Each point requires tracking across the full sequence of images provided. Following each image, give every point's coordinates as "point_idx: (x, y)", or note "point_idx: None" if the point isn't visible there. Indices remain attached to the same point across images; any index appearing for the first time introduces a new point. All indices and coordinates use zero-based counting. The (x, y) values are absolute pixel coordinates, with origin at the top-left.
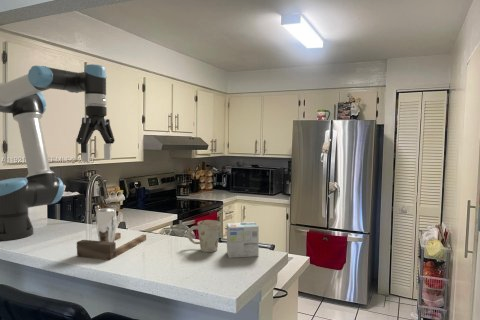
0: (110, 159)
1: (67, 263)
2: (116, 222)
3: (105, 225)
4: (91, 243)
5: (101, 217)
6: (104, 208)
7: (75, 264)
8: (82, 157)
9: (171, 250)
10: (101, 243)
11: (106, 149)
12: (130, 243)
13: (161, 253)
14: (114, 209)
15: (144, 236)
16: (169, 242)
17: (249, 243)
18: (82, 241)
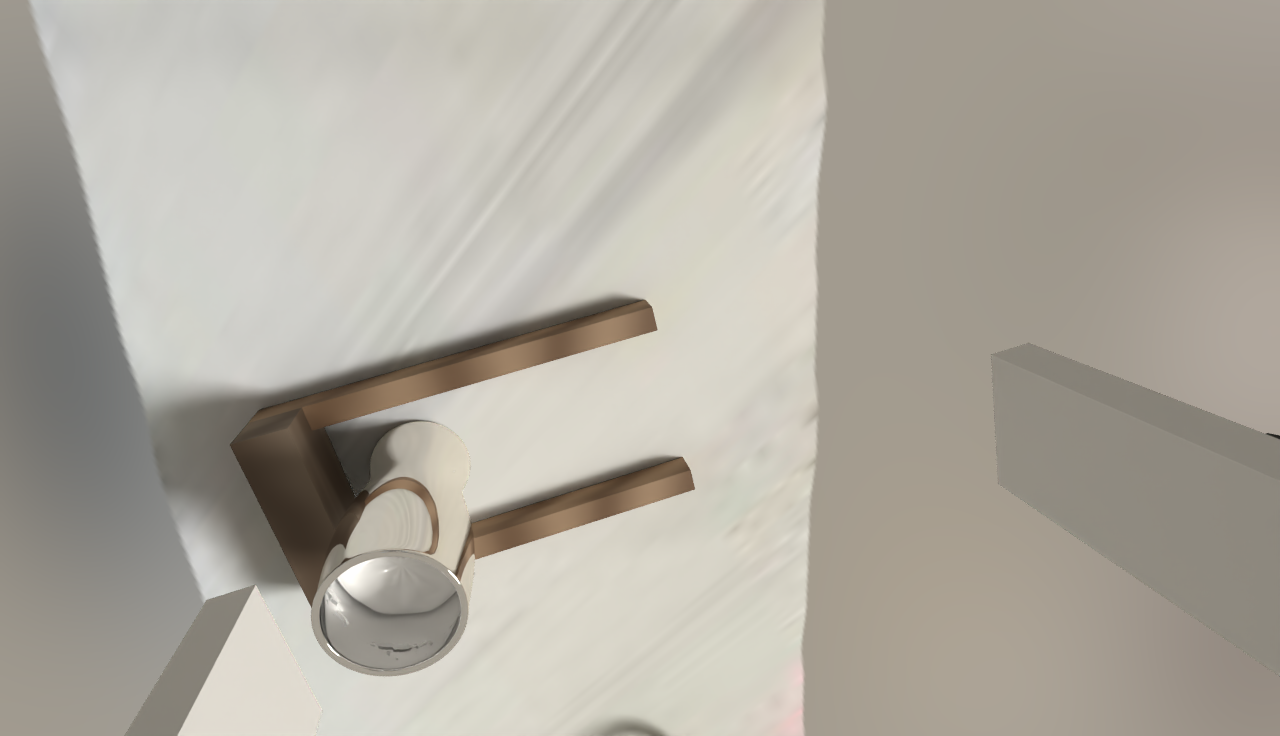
0: (1016, 478)
1: (158, 465)
2: (451, 597)
3: (356, 600)
4: (276, 534)
5: (328, 618)
6: (423, 560)
7: (180, 509)
8: (175, 685)
9: (608, 686)
10: (312, 578)
11: (1213, 529)
12: (526, 542)
13: (550, 684)
14: (458, 626)
15: (675, 493)
16: (705, 597)
17: None
18: (262, 461)
